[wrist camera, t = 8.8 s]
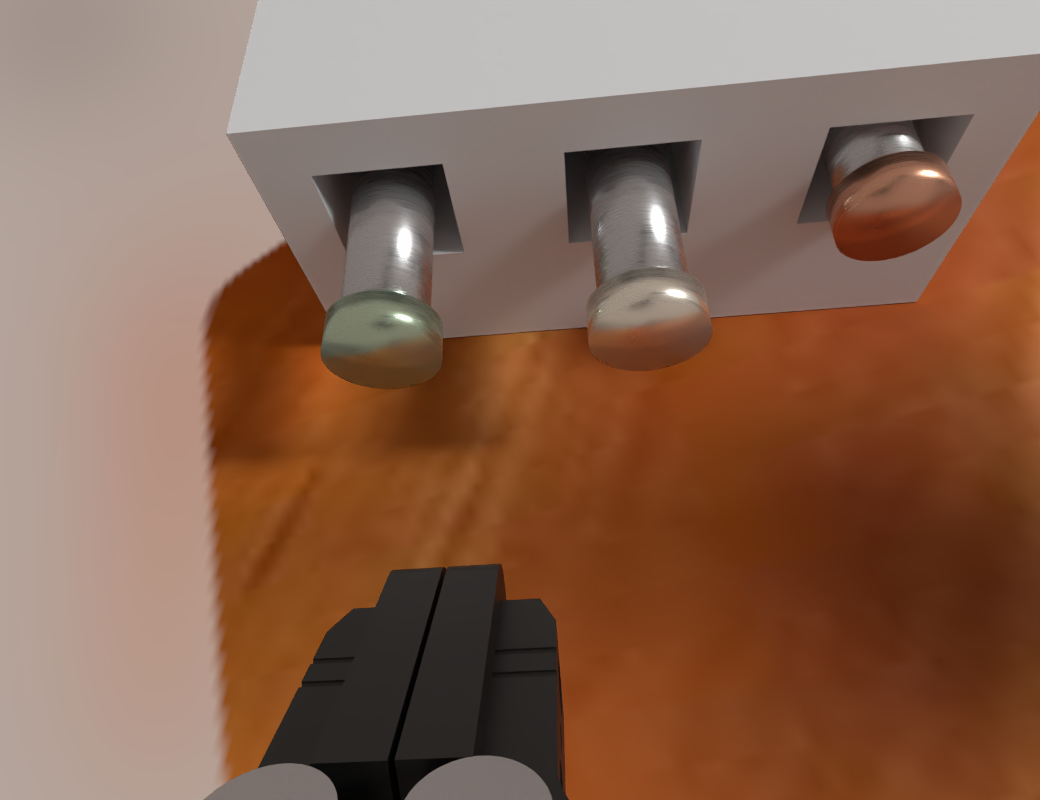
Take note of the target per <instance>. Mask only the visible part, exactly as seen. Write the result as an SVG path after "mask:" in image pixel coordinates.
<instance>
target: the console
mask: <svg viewBox="0 0 1040 800" xmlns="http://www.w3.org/2000/svg"><path fill="white" fill-rule="evenodd" d="M1039 111H1040V0H258V3H257V7H256V11H255V15H254V20H253V24H252V28H251V32H250V36H249V41H248V45H247V49H246V53H245V57H244V62H243V66H242V70H241V74H240V78H239V82H238V86H237V91H236V95H235V99H234V103H233V107H232V112H231V116H230V120H229V124H228V128H227V132H226V135H227V136H228V138H229V140H230V141H231V143H232V145H233V147H234V149H235V150H236V152H237V154H238V156H239V158H240V159H241V161H242V163H243V165H244V166H245V168H246V170H247V172H248V174H249V176H250V177H251V179H252V181H253V183H254V184H255V186H256V188H257V190H258V191H259V193H260V195H261V197H262V199H263V200H264V202H265V204H266V206H267V207H268V209H269V211H270V213H271V215H272V217H273V218H274V220H275V222H276V223H277V225H278V227H279V229H280V231H281V232H282V234H283V236H284V238H285V240H286V241H287V243H288V245H289V247H290V249H291V250H292V252H293V254H294V256H295V257H296V259H297V261H298V263H299V265H300V266H301V268H302V270H303V272H304V274H305V275H306V277H307V279H308V281H309V282H310V284H311V286H312V288H313V290H314V291H315V293H316V295H317V297H318V298H319V300H320V302H321V304H322V306H323V307H324V309H325V311H326V312H327V311H328V309H329V308H330V306H331V305H332V304H333V303H335V302H336V301H337V300H339V299H341V293H342V284H343V275H344V266H345V257H346V248H347V240H348V231H349V222H350V213H351V204H352V195H353V186H354V177H355V172H361V171H372V170H382V169H393V168H404V167H414V166H425V165H436V164H437V165H436V191H435V218H434V244H433V271H432V297H431V307H432V308H433V309H434V310H435V311H436V312H437V313H438V315H439V316H440V318H441V320H442V323H443V338H452V337H465V336H478V335H491V334H504V333H517V332H530V331H543V330H556V329H569V328H582V327H587V321H586V304H587V301H588V299H589V297H590V296H591V294H592V293H593V292H594V291H595V290H596V289H597V287H596V277H595V267H594V257H593V246H592V236H591V226H590V216H589V206H588V196H587V186H586V176H585V166H584V156H583V151H585V150H596V149H606V148H617V147H628V146H638V145H649V144H660V143H665V146H666V152H667V157H668V163H669V169H670V174H671V180H672V186H673V191H674V197H675V202H676V208H677V214H678V219H679V225H680V231H681V236H682V242H683V247H684V253H685V259H686V264H687V270H688V274H690V275H692V276H693V277H695V278H696V279H698V280H699V281H700V282H701V284H702V285H703V287H704V289H705V292H706V297H707V302H708V307H709V312H710V318H712V317H725V316H738V315H751V314H764V313H777V312H790V311H803V310H816V309H829V308H842V307H855V306H868V305H881V304H894V303H907V302H917V300H918V299H919V297H920V296H921V294H922V293H923V291H924V289H925V288H926V286H927V285H928V283H929V282H930V280H931V279H932V277H933V275H934V274H935V272H936V271H937V269H938V268H939V266H940V265H941V263H942V261H943V260H944V258H945V257H946V255H947V254H948V252H949V251H950V249H951V248H952V246H953V244H954V243H955V241H956V240H957V238H958V237H959V235H960V234H961V232H962V230H963V229H964V227H965V226H966V224H967V223H968V221H969V220H970V218H971V216H972V215H973V213H974V212H975V210H976V209H977V207H978V206H979V204H980V203H981V201H982V199H983V198H984V196H985V195H986V193H987V192H988V190H989V189H990V187H991V185H992V184H993V182H994V181H995V179H996V178H997V176H998V175H999V173H1000V172H1001V170H1002V168H1003V167H1004V165H1005V164H1006V162H1007V161H1008V159H1009V158H1010V156H1011V154H1012V153H1013V151H1014V150H1015V148H1016V147H1017V145H1018V144H1019V142H1020V140H1021V139H1022V137H1023V136H1024V134H1025V133H1026V131H1027V130H1028V128H1029V127H1030V125H1031V123H1032V122H1033V120H1034V119H1035V117H1036V116H1037V114H1038V113H1039ZM905 120H912V123H913V125H914V127H915V130H916V132H917V135H918V137H919V139H920V142H921V144H922V146H923V149H924V151H925V152H930V153H933V154H936V155H937V156H939V157H941V158H942V159H943V160H944V161H945V162H946V164H947V165H948V168H949V170H950V172H951V175H952V177H953V179H954V182H955V184H956V186H957V188H958V191H959V193H960V196H961V198H962V207H961V211H960V213H959V215H958V217H957V219H956V220H955V222H954V223H953V224H952V225H951V227H950V228H949V229H948V230H947V231H946V232H945V233H943V234H942V235H941V236H940V237H938V238H937V239H936V240H934V241H933V242H931V243H930V244H928V245H926V246H924V247H922V248H920V249H918V250H916V251H914V252H912V253H909V254H906V255H903V256H900V257H897V258H893V259H888V260H882V261H860V260H855V259H851V258H849V257H846V256H845V255H843V254H842V253H841V252H840V251H839V250H838V248H837V246H836V244H835V240H834V237H833V234H832V231H831V228H830V224H829V221H828V218H827V214H826V206H827V202H828V199H829V197H830V195H831V193H832V192H833V189H832V186H831V183H830V180H829V176H828V173H827V170H826V167H825V164H824V161H823V158H822V155H821V152H822V149H823V146H824V143H825V140H826V137H827V134H828V132H829V129H830V128H831V127H841V126H852V125H863V124H873V123H884V122H895V121H905Z"/></svg>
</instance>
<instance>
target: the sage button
mask: <svg viewBox="0 0 1040 800" xmlns="http://www.w3.org/2000/svg"><path fill="white" fill-rule="evenodd" d="M436 165H437V164H436ZM436 165H425V166H414V167H404V168H393V169H382V170H372V171H361V172H355V177H354V186H353V195H352V204H351V213H350V222H349V231H348V240H347V248H346V257H345V266H344V275H343V284H342V293H341V299H339V300H337V301H336V302H335V303H333V304H332V305H331V306H330V308H329V309H328V311H327V312H326V316H325V322H324V330H323V338H322V346H321V358H322V361H323V363H324V364H325V366H326V367H327V368H328V369H329V370H330V371H331V372H332V373H334V374H335V375H337V376H338V377H340V378H342V379H344V380H346V381H349V382H351V383H354V384H358V385H361V386H366V387H371V388H380V389H398V388H406V387H411V386H415V385H418V384H421V383H423V382H426V381H428V380H429V379H431V378H432V377H434V376H435V375H436V374H437V373H438V372H439V370H440V368H441V366H442V353H443V323H442V320H441V318H440V316H439V315H438V313H437V312H436V311H435V310H434V309H433V308H432V307H431V297H432V271H433V244H434V218H435V191H436Z"/></svg>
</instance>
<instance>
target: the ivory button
mask: <svg viewBox="0 0 1040 800" xmlns="http://www.w3.org/2000/svg"><path fill="white" fill-rule="evenodd" d="M583 156H584V166H585V176H586V186H587V196H588V206H589V216H590V226H591V236H592V246H593V257H594V267H595V277H596V287H597V289H596V290H595V291H594V292H593V293H592V294H591V296H590V297H589V299H588V301H587V304H586V321H587V332H588V344H589V349H590V352H591V353H592V355H593V356H594V357H595V358H596V359H597V360H599V361H600V362H601V363H603V364H605V365H608V366H610V367H613V368H617V369H622V370H630V371H647V370H656V369H661V368H665V367H669V366H673V365H676V364H678V363H681V362H683V361H685V360H687V359H689V358H691V357H693V356H694V355H696V354H697V353H699V352H700V351H701V350H702V349H703V348H704V347H705V346H706V345H707V344H708V342H709V340H710V338H711V336H712V323H711V318H710V312H709V307H708V302H707V297H706V292H705V289H704V287H703V285H702V284H701V282H700V281H699V280H698V279H696V278H695V277H693V276H692V275H690V274H688V270H687V264H686V259H685V253H684V247H683V242H682V236H681V231H680V225H679V219H678V214H677V208H676V202H675V197H674V191H673V186H672V180H671V174H670V169H669V163H668V157H667V152H666V146H665V143H660V144H649V145H638V146H628V147H617V148H606V149H596V150H585V151H583Z"/></svg>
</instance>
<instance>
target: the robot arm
mask: <svg viewBox="0 0 1040 800" xmlns="http://www.w3.org/2000/svg"><path fill="white" fill-rule="evenodd" d="M204 800H569V799H568V798H567V796H566V791H565V754H564V715H563V703H562V691H561V678H560V666H559V653H558V641H557V629H556V620H555V618H554V617H553V616H552V614H551V613H550V612H549V610H548V609H547V608H546V606H545V605H544V604H543V602H542V601H541V599H524V600H506V593H505V583H504V575H503V569H502V566H501V564H489V565H471V566H453V567H448V568H447V569H446V568H445V567H439V568H421V569H403V570H392V571H391V572H390V574H389V576H388V579H387V581H386V583H385V586H384V588H383V590H382V593H381V595H380V598H379V600H378V602H377V605H376V607H375V608H357V609H353V610H351V611H350V612H349V613H348V614H347V615H346V616H345V617H343V618H342V619H341V620H340V621H339V622H338V623H337V624H335V625H334V626H333V627H332V628H331V629H330V630H329V631H328V632H327V633H326V635H325V637H324V639H323V641H322V643H321V645H320V647H319V649H318V651H317V653H316V655H315V657H314V658H313V664H310V666H309V668H308V670H307V672H306V674H305V676H304V678H303V680H302V687H301V688H298V690H297V692H296V694H295V696H294V698H293V700H292V702H291V704H290V706H289V708H288V710H287V712H286V714H285V716H284V718H283V720H282V722H281V724H280V726H279V728H278V730H277V732H276V734H275V735H274V737H273V739H272V741H271V743H270V745H269V747H268V749H267V751H266V753H265V755H264V757H263V759H262V761H261V763H260V765H259V767H258V769H254V770H252V771H249V772H247V773H244V774H242V775H240V776H238V777H236V778H234V779H232V780H230V781H228V782H227V783H225V784H224V785H222V786H221V787H219V788H218V789H216V790H215V791H214V792H213V793H211V794H210V795H209V796H208V797H206V798H205V799H204Z"/></svg>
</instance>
